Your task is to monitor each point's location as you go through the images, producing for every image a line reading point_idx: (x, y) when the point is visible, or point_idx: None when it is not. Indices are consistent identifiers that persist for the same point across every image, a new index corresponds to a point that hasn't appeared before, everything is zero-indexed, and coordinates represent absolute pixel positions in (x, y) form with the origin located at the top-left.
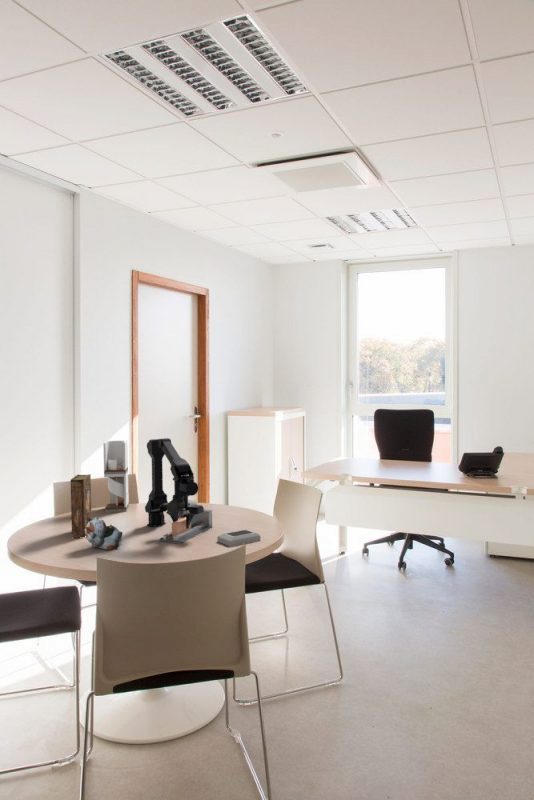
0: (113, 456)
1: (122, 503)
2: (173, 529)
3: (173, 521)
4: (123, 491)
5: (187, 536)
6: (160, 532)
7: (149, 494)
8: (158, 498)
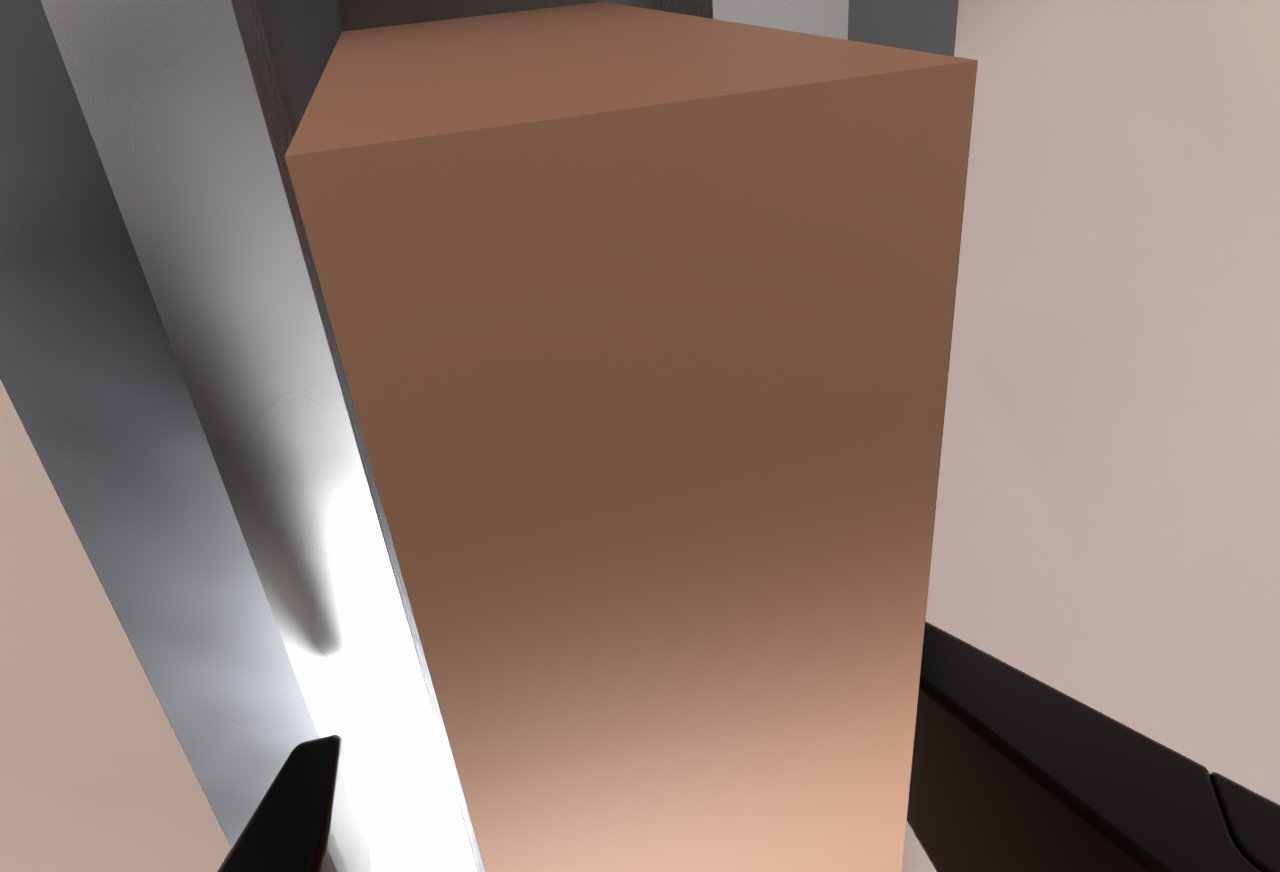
0: None
1: None
2: (591, 38)
3: (1124, 752)
4: None
5: (132, 449)
6: (1260, 489)
7: None
8: None
